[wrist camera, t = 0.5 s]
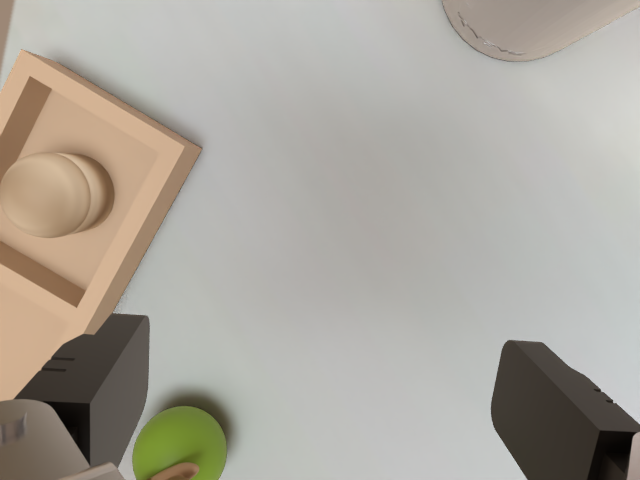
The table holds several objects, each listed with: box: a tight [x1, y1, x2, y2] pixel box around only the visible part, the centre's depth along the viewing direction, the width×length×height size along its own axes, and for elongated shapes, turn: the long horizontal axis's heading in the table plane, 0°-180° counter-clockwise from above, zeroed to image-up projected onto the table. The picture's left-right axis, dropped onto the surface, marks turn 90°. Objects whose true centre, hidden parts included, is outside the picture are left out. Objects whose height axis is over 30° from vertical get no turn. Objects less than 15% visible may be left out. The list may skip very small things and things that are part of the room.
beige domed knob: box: [0, 152, 115, 238], centre depth 29 cm, size 5×5×5 cm
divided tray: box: [0, 49, 202, 401], centre depth 32 cm, size 23×10×4 cm, turn 149°
